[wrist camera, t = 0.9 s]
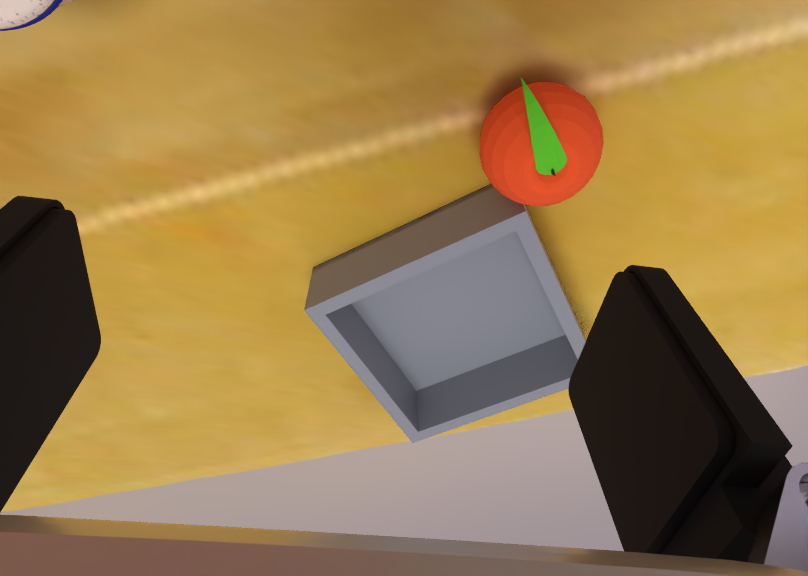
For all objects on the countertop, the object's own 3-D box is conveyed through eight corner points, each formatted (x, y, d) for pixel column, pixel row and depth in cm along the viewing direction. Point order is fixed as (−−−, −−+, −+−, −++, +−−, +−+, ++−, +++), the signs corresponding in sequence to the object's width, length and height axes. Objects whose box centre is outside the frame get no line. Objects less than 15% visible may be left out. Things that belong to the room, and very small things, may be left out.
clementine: (450, 79, 34) (461, 121, 28) (564, 28, 32) (601, 62, 26) (493, 190, 38) (510, 246, 32) (595, 150, 37) (632, 202, 31)
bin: (511, 174, 37) (525, 211, 33) (583, 332, 46) (601, 376, 42) (313, 267, 42) (304, 310, 38) (411, 396, 50) (412, 443, 46)
